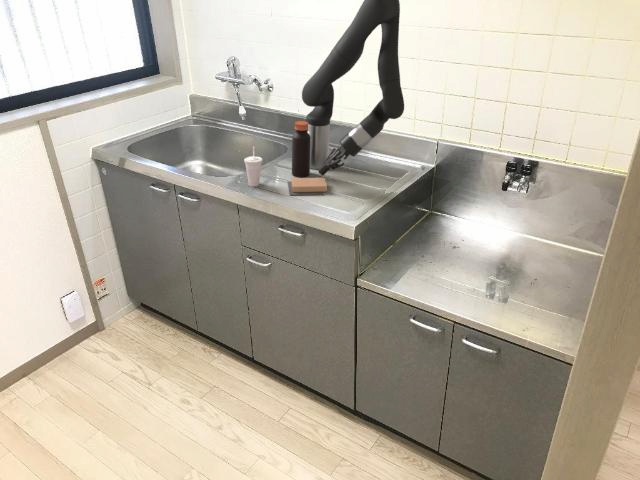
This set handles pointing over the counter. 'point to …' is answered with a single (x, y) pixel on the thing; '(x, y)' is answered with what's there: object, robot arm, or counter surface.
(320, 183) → the tile
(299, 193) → the mat
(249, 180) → the smoothie
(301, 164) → the bottle
